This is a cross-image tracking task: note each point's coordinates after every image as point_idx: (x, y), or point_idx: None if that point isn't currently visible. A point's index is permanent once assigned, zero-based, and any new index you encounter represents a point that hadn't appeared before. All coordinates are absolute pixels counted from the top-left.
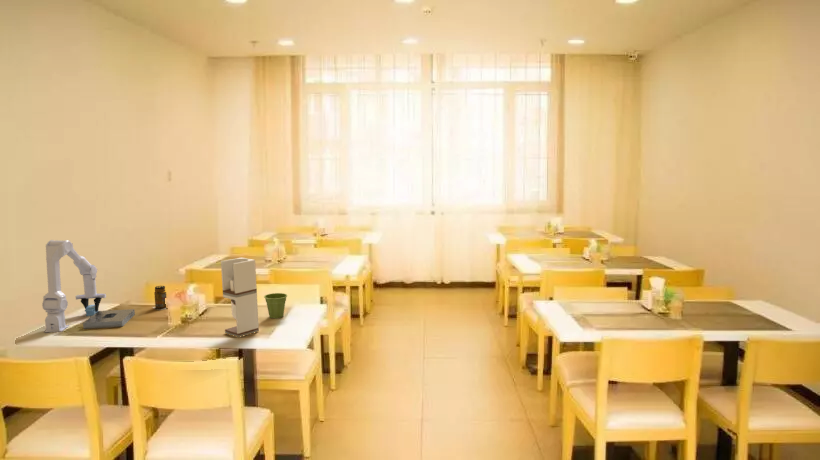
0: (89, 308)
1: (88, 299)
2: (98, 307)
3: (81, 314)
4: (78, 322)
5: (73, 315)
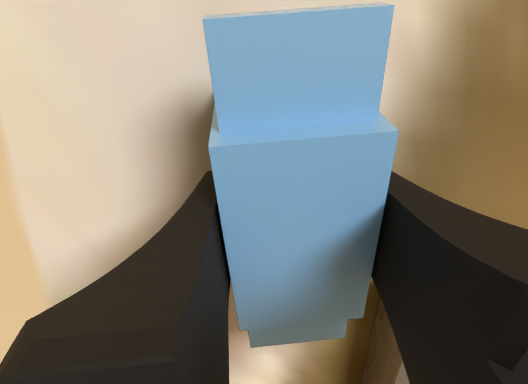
0: (296, 314)
1: (188, 306)
2: (398, 181)
3: (122, 165)
4: (260, 374)
5: (36, 200)
